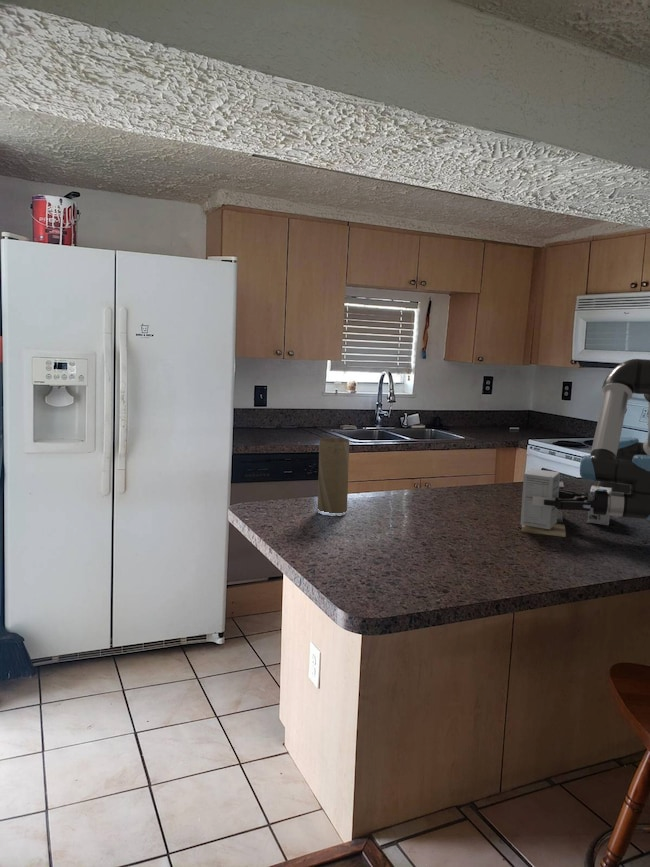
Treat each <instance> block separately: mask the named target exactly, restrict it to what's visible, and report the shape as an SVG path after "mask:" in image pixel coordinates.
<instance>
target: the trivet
mask: <svg viewBox="0 0 650 867" xmlns="http://www.w3.org/2000/svg"><path fill="white" fill-rule="evenodd" d="M521 533H527V534H535V535H536V534H537V535H545V536H554V537H555V536H556V537H564V538H566V537H567V534H566V525H565V524H564V523H562V524H561V523H556V524H555V525H554V526H553V527H552V528H551V529H543V528H538V527H532V526H526V525H521Z"/></svg>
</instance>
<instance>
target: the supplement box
mask: <svg viewBox="0 0 650 867" xmlns="http://www.w3.org/2000/svg"><path fill="white" fill-rule="evenodd" d="M560 478H561V472H559V471H551V470H545V469H542V470H541V469H535V468H531V469H530V470H528V471H527V472H525V473H523V481H522V483H523V484H522V495H521V512H520V526H522V525H526V526H532V527H538V528H543V529H551V528H552V527H553V526H554V525H555V524H558V522H557V511H558V509H557V508H555V506H554V507H548V506H539V505H532V501H533V496H540V497H550V498H555V497H558V496H559V482H561V481H560V480H561V479H560Z"/></svg>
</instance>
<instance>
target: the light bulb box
mask: <svg viewBox="0 0 650 867" xmlns="http://www.w3.org/2000/svg"><path fill="white" fill-rule="evenodd" d="M595 490H600V491H606V492H607V493H609V492H610V491H612V488H607V487H599V486H597V485H591V486H590V492H589V496H594V491H595ZM610 517H611V516H609V515H608V514H607V513H606V515H596V514H593V508H590V511H587V523H589V524H590V523H591V524H598V525H603V526H609V524H610V520H611V519H610Z"/></svg>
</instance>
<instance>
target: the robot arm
mask: <svg viewBox="0 0 650 867" xmlns="http://www.w3.org/2000/svg"><path fill="white" fill-rule="evenodd" d="M633 394H636V395H637V394H638V395H643V396H644V400H645V401H646V402H647V403H648V412H647V414H648V415H647V439H645V440H644V442H640V441H639V438H637V437H632V436H630V437H629V436H626V437H625V436H624V437H623V436H621V435H622V430H623V427H624V422H625V421H624V420H625V416H626V410H627V407H628V402H629V400H631V399H632V397H633ZM601 395H602V402H601V406H600V411H599V415H598V419H597V423H596V428H595V432H594V436H593V440H592V441H593V442H592V445H591V450H590V454H589V455H582V457H581V459H580V465H579V476H580V477H581V479H585V480H589V481H593V482H597V485H596V486H599V487H607V488H612V491H610V492H609V493H607V492H606V491H600V490H595V491H594V496H590V495H589V493H588V492H585V491H584V492H582V491H576V490H575V491H574V490H570V489H569V490H568V489H565V488H564V489H559V496H558V497H555V498H550V497H540V496H533V501H532V505H539V506H548V507H554V506H555V508H557V509H558V510H562V511H563V510H564V511H565V510H566V511H569V510H570V511H587V512H588V511H590V508H593V514H596V515H606V513H607V514H608V515H609V516H610V517H614V518H615V519H618V518H619V517H620V518H629V519H630V518H631V519H637V520H644V521H650V359H645V358H644V359H643V358H633V359H628V360H625V361H623V362H621V363H619V364H618V365H616V366H615V367H614V368H613V369H612V370H611V371H610V372H609V373H608V375H607V376H606V377H605V379H604V381H603V384H602V387H601Z"/></svg>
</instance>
